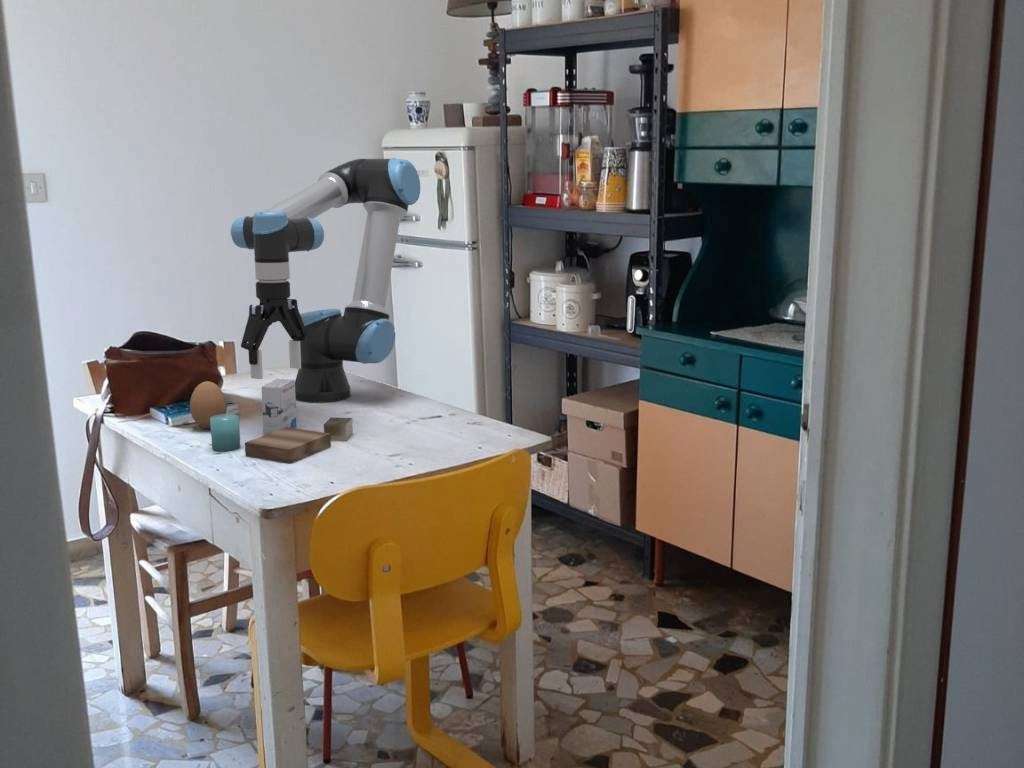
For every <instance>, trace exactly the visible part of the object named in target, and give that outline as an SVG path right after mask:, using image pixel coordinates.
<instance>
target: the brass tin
mask: <svg viewBox="0 0 1024 768" xmlns="http://www.w3.org/2000/svg"><path fill="white" fill-rule="evenodd" d="M353 430H354V429H353V418H352V417H330V418H329V419H328V420H327V421H325V422H324V423H323V432H324V433H331V442H348V440H349V439H350V438H351V437H352V436H353V434H354V432H353Z"/></svg>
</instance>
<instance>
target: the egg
mask: <svg viewBox="0 0 1024 768" xmlns="http://www.w3.org/2000/svg"><path fill="white" fill-rule="evenodd" d="M226 399H227V398H226V397H225V394H224V393H223V390H222V389H221V388H220V387H219V385H217V384H216V383H214V382H212V381H208V380H206V381H202V382H201V383H199V384H198V385H197V386H196V387H195V388H194V390H193V392H192V393H191V397H190V400H189V411H190V415H191V418H192V419H193V420H194V422H195V423H196V424H197V425H198V426H200V427H201V428H204V429H208V430H209V429H210V430H211V425H210V417H212V416H215V415H219V414H227V410H228V404H227V400H226Z"/></svg>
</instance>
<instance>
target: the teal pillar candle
mask: <svg viewBox="0 0 1024 768" xmlns="http://www.w3.org/2000/svg"><path fill="white" fill-rule="evenodd" d="M210 425H211V428H210V436H211V437H210V438H211V450H212V451H213V452H218V453H229V452H234V451H238V450H239V449H241V431H240V417H239V415H238V414H235V413H226V414H219V415H215V416H212V417H210Z"/></svg>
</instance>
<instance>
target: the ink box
mask: <svg viewBox="0 0 1024 768" xmlns="http://www.w3.org/2000/svg"><path fill="white" fill-rule="evenodd" d="M295 380H296V379H293V378H292V379H291V378H276V379H274V380H271V381H270V382H268V383H266V384H264V385H262V386H261V405H262V406H261V407H262V436H264V435H267V434H269V433H272V432H275V431H278V430H280V429H283V428H286V427H290V428H297V424H298V423H297V403H296V401H297V400H296V397H295Z"/></svg>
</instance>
